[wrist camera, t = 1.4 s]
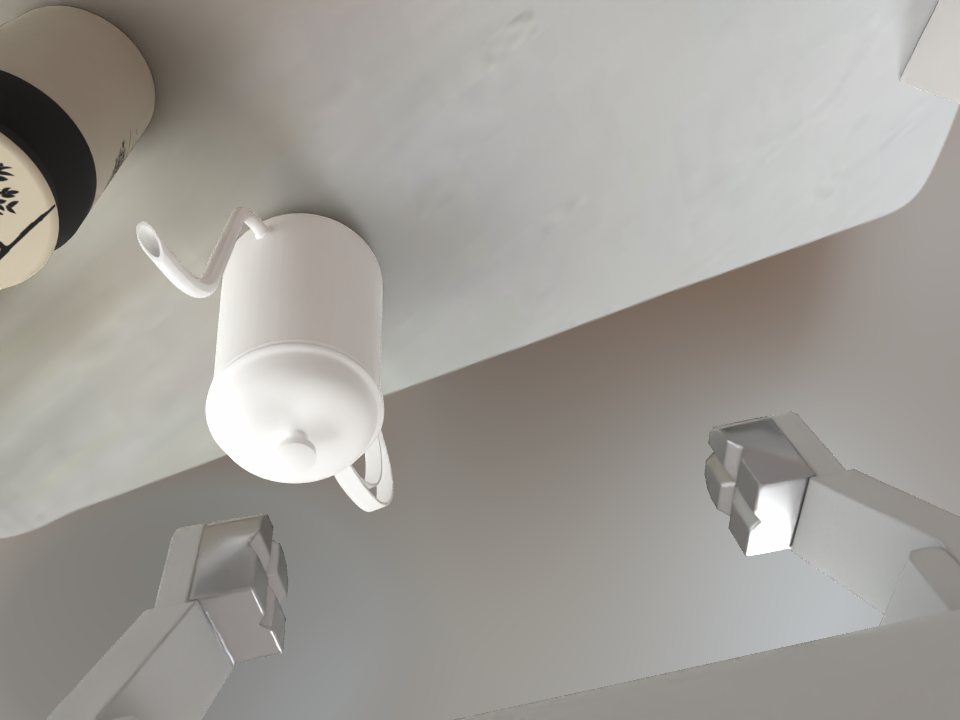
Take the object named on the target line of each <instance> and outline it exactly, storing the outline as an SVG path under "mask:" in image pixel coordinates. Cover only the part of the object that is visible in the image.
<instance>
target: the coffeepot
mask: <svg viewBox="0 0 960 720" xmlns="http://www.w3.org/2000/svg"><path fill="white" fill-rule="evenodd" d="M244 222H245V223H246V224H247V225H248V226H249V227H250V229H249V230H248V231H246V232H245V233H244V234H243V235H242V236H241V237H240V238H239V239H238V240H237V238H238V236H239V234H240V231H241V229H242V226H243V224H244ZM136 236H137V239H138V241H139V244H140V245H141V247H142V248H143V250H144V251H145V252H146V254H147V255H148V256H149V257H150V258H151V260H152V261H153V262H154V263H155V264H156V265H157V267H158V268H159V269H160V270H161V271H162V272H163V273H164V275H165V276H166V277H167V278H168V279H169V280H170V281H171V282H172V283H173V284H174V285H175V286H177V287H178V288H179V289H180V290H182V291H183V292H185V293H186V294H188V295H190V296H192V297H197V298H203V297H208V296H209V295H211V294H212V293H213V292H215V291H216V289H217V287H218V285H219V283H220V280H221V278H222V276H223V279H222V290H221V302H220V313H219V324H218V335H217V346H216V358H215V369H214V380H213V382H212V384H211V386H210V389H209V392H208V396H207V401H206V419H207V423H208V427H209V429H210V432H211V434H212V436H213V438H214V439H215V441H216V442H217V444H218V445H219V446H220V447H221V448H222V449H223V450H224V451H225V452H226V453H227V454H228V455H229V456H230V457H231V458H232V459H233V460H234V461H235V462H236V463H237V464H238V465H240V466H241V467H242V468H244V469H245V470H247V471H249V472H250V473H252V474H255V475H257V476H259V477H262V478H265V479H268V480H272V481H277V482H284V483H305V482H312V481H317V480H321V479H324V478H327V477H330V476H333V475H334V476H335V478H336V479H337V481H338V482H339V484H340V485H341V487H342V488H343V489H344V491H345V492H346V493H347V494H348V496H349V497H350V498H351V499H352V500H353V501H354V502H355V503H356V504H357V505H358V506H359V507H360V508H361V509H363V510H364V511H367V512H371V511H374V510H377V509H379V508H382V507H384V506H387V505H389V504H390V503H391V501H392V497H393V478H392V471H391V466H390V461H389V457H388V452H387V449H386V445H385V441H384V438H383V435H382V431H381V426H382V423H383V417H384V402H383V395H382V392H381V389H380V371H381V334H382V297H383V282H382V275H381V270H380V267H379V264H378V262H377V259H376V257H375V255H374V253H373V252H372V250H371V249H370V247H369V246H368V245H367V243H366V242H365V241H364V240H363V239H362V238H361V237H360V236H359V235H358V234H357V233H355V232H354V231H353V230H351V229H350V228H348V227H347V226H345V225H343V224H341V223H339V222H337V221H335V220H333V219H330V218H327V217H324V216H320V215H315V214H307V213H292V214H284V215H279V216H275V217H272V218H269V219H267V220H264V221H262V220H261V219H260V218H259V216H258V215H257V214H256V213H255V212H253V211H252V210H250V209H249V208H246V207H240V208H237V209H235V210H234V211H233V212H232V213H231V215H230V217H229V219H228V221H227V222H226V225H225V227H224V229H223V231H222V233H221V235H220V238H219V240H218V242H217V244H216V246H215V248H214V251H213V253H212V255H211V257H210V259H209V262H208V264H207V266H206V268H205V270H204V272H203V274H202V276H201V278H200V279H199V278H197V277H195V276H194V275H193V274H192V273H191V272H189V271H188V270H187V268H186V267H185V266H184V265H183V264H182V263H181V262H180V261H179V259H178V258H177V257H176V256H175V255H174V253H173V252H172V251H171V250H170V248H169V247H168V246H167V245H166V244H165V242H164V241H163V240H162V239H161V237H160V236H159V235H158V234H157V232H156V231H155V230H154V228H153V227H152V226H151V225H150V224H149V223H147V222H140V223H139V224H137V227H136ZM236 241H237V242H236ZM364 453H365V459H366V476H365V480H363V479H362V478H361V477H360V476H359V475H358V474H357V472H356V471H355V469H354V467H353V466H352V463H354V462H355V461H356V459H358V458H359V457H360V456H361V455H362V454H364ZM375 486H377V498H375V497H374V496H373V495H372V493H371V492H370V491H369V490H368V489H370V488H372V487H375Z"/></svg>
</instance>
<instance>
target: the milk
mask: <svg viewBox="0 0 960 720" xmlns="http://www.w3.org/2000/svg"><path fill="white" fill-rule="evenodd" d="M900 82H902V83H905V84H907V85H910V86H912V87H915V88H917V89H920V90H922V91H925V92H928V93H930V94H933V95H935V96H938V97H940V98H943V99H945V100H948V101H950V102H953V103H956V104H958V105H960V0H939V2H938V4H937V6H936V8H935V10H934V12H933V14H932V16H931V18H930V20H929V22H928V24H927V26H926V28H925V30H924V32H923V34H922V36H921V38H920V40H919V42H918V44H917V46H916V48H915V50H914V52H913V54H912V56H911V58H910V60H909V62H908V64H907V66H906V68H905V70H904V72H903V74H902V76H901V78H900Z"/></svg>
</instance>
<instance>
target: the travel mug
mask: <svg viewBox="0 0 960 720" xmlns="http://www.w3.org/2000/svg"><path fill="white" fill-rule="evenodd" d="M154 108H155V87H154V82H153V78H152V75H151V72H150V70H149V67H148V65H147V63H146V61H145V59H144V58H143V56H142V54H141V53H140V51H139V50H138V49H137V47H136V46H135V45H134V44H133V42H132V41H131V40H130V39H129V38H128V37H127V36H126V35H125V34H124V33H123V32H122V31H120V30H119V29H118V28H117V27H115V26H114V25H113V24H111V23H110V22H108V21H107V20H105V19H103V18H101V17H99V16H97V15H96V14H93V13H91V12H88V11H85V10H82V9H79V8H74V7H69V6H46V7H40V8H37V9H34V10H31V11H29V12H27V13H25V14H23V15H21V16H19V17H17V18H15V19H13V20H11V21H9V22H7V23H5V24H3V25H2V26H0V289H4V288H8V287H11V286H14V285H17V284H19V283H21V282H23V281H25V280H27V279H29V278H30V277H32V276H33V275H34V274H36V273H37V272H38V271H39V270H40V269H41V268H42V267H43V266H44V265H45V264H46V263H47V261H48V260H49V259H50V257H51V255H52V253H53V251H54V250H56V249H58V248H59V247H61V246H62V245H64V244H65V243H66V242H67V241H68V240H69V239H70V238H71V237H72V236H73V235H74V234H75V232H76V231H77V230H78V228H79V227H80V225H81V224H82V222H83V221H84V219H85V218H86V216H87V215H88V213H89V212H90V210H91V209H92V207H93V206H94V204H95V203H96V202H97V200H98V199H99V197H100V196H101V194H102V193H103V191H104V190H105V188H106V187H107V185H108V184H109V182H110V181H111V179H112V178H113V177H114V175H115V174H116V172H117V171H118V169H119V168H120V166H121V165H122V163H123V162H124V160H125V159H126V157H127V156H128V154H129V153H130V151H131V150H132V149H133V147H134V146H135V144H136V143H137V141H138V140H139V138H140V137H141V135H142V134H143V132H144V131H145V129H146V128H147V126H148V125H149V123H150V121H151V118H152V115H153V112H154Z"/></svg>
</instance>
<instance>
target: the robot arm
mask: <svg viewBox="0 0 960 720" xmlns="http://www.w3.org/2000/svg"><path fill="white" fill-rule="evenodd" d="M708 443H709V445H710V446H711V448H712V449H713V451H714V452H713V453H712V454H711V455H710V456H709V458H708V459H707V460H706V466H705V478H706V484H707V489H708V491H709V494H710V496H711V499H712V501H713V502H714V504H715V506H716V508H717V509H718V510H719V511H721V512H723V513H725V514H727V515H729V516H730V523H729V529H730V531H731V533H732V534H733V536H734V538H735V539H736V541H737V543H738V544H739V546H740V548H741V549H742V551H743V552H744V554H745V556H751V555H757V554H762V553H768V552H773V551H779V550H784V549H790V548H791V551H792V552H794V553H795V554H796V555H798V556H799V557H801V558H802V559H804V560H805V561H807V562H808V563H810V564H811V565H812V566H814V567H815V568H817V569H818V570H820V571H822V572H823V573H824V574H826V575H827V576H828V577H830V578H831V579H833V580H834V581H836V582H837V583H839V584H840V585H841V586H843V587H845V588H846V589H847V590H849V591H851V592H852V593H853V594H855V595H856V596H857V597H859V598H861V599H862V600H863V601H865V602H866V603H868V604H869V605H871V606H872V607H873V608H875V609H876V610H878V611H879V612H881V613H882V614H884V616H883V618H882V621H881V623H880V625H879V627H874V628H869V629H865V630H860V631H855V632H851V633H846V634H842V635H837V636H832V637H828V638H823V639H819V640H814V641H810V642H805V643H801V644H796V645H792V646H787V647H782V648H778V649H774V650H769V651H764V652H760V653H755V654H751V655H746V656H742V657H737V658H732V659H728V660H724V661H719V662H715V663H710V664H706V665H701V666H696V667H692V668H687V669H683V670H678V671H674V672H669V673H665V674H660V675H655V676H651V677H646V678H642V679H637V680H633V681H628V682H624V683H619V684H615V685H610V686H606V687H601V688H597V689H592V690H588V691H583V692H578V693H574V694H569V695H565V696H560V697H556V698H551V699H546V700H542V701H537V702H533V703H528V704H524V705H519V706H514V707H510V708H506V709H501V710H496V711H492V712H487V713H482V714H478V715H473V716H469V717H464V718H460V719H455V720H960V517H959V516H957V515H954V514H952V513H950V512H948V511H946V510H944V509H941V508H939V507H937V506H935V505H932V504H930V503H928V502H926V501H924V500H921V499H919V498H917V497H915V496H912V495H910V494H908V493H906V492H904V491H902V490H899V489H897V488H895V487H893V486H890V485H888V484H886V483H884V482H882V481H879V480H877V479H875V478H873V477H870V476H868V475H866V474H864V473H862V472H859V471H857V470H855V469H851V470H845V468H844V467H843V466H842V465H841V464H840V463H839V462H838V460H837V459H836V458H835V457H834V456H833V454H832V453H831V452H830V451H829V450H828V449H827V448H826V446H825V445H824V444H823V443H822V442H821V441H820V440H819V438H818V437H817V436H816V435H815V434H814V432H813V431H812V430H811V429H810V428H809V427H808V426H807V424H806V423H805V422H804V421H803V420H802V419H801V418H800V416H799V415H798V414H796V413H794V412H792V411H790V412H785V413H780V414H775V415H770V416H766V417H760V418H755V419H750V420H745V421H741V422H735V423H730V424H725V425H721V426H715V427H713V428H712V430H711V432H710V435H709V442H708ZM272 535H273V525H272V523H271V521H270V519H269V517H268V515H267V514H264V513H263V514H257V515H251V516H246V517H240V518H234V519H227V520H221V521H215V522H210V523H207V524H201V525H195V526H188V527H182V528H178V529H177V530H176V532H175V533H174V535H173V536H172V539H171V543H170V547H169V551H168V556H167V559H166V563H165V567H164V571H163V575H162V579H161V583H160V587H159V591H158V595H157V599H156V603H155V607H154V609H150V610H146V611H144V612H143V614H142V615H141V616H140V617H139V618H138V619H137V620H136V621H135V622H134V623H133V624H132V626H131V627H130V628H129V629H128V630H127V631H126V632H125V633H124V634H123V636H121V638H120V639H119V640H118V641H117V642H116V643H115V644H114V645H113V646H112V648H111V649H110V650H109V651H108V652H107V653H106V654H105V655H104V656H103V657H102V658H101V659H100V661H99V662H98V663H97V664H96V665H95V666H94V667H93V668H92V669H91V670H90V671H89V673H88V674H87V675H86V676H85V677H84V678H83V679H82V680H81V681H80V683H78V685H77V686H76V687H75V688H74V689H73V690H72V691H71V692H70V693H69V694H68V696H67V697H66V698H65V699H64V700H63V701H62V702H61V703H60V704H59V705H58V707H57V708H56V709H55V710H54V711H53V712H52V713H51V714H50V715H49V716H48V717H47V718H46V720H201V719H202V717H203V716H204V715H205V713H206V711H207V710H208V708H209V706H210V705H211V703H212V702H213V700H214V698H215V697H216V695H217V694H218V692H219V690H220V689H221V687H222V686H223V684H224V682H225V681H226V679H227V678H228V676H229V674H230V673H231V671H232V670H233V667H234V666H233V664H236V663H241V662H245V661H249V660H253V659H257V658H262V657H266V656H270V655H275V654H278V653H283V649H284V635H285V621H286V618H285V615H284V613H283V611H282V608H281V606H280V605H281V603H282V602H283V601H284V600H285V598H286V597H287V592H288V576H287V565H286V561H285V556H284V553H283V550H282V547H281V545H280V543H278V542H276V541H274V540H272Z"/></svg>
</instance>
